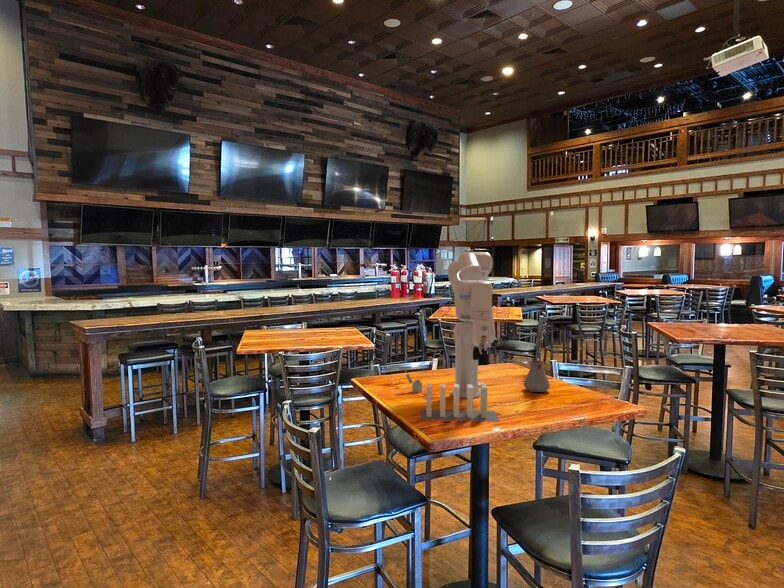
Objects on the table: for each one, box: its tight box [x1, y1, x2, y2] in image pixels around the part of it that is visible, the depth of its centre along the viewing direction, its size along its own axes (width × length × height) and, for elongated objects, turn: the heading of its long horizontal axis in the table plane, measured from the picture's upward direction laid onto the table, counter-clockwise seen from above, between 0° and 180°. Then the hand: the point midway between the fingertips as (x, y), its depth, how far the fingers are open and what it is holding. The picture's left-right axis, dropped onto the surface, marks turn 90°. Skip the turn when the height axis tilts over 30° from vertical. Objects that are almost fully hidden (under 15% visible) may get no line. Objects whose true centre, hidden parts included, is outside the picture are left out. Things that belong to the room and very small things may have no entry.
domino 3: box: [452, 383, 460, 417], centre depth 175 cm, size 2×5×11 cm, turn 176°
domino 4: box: [466, 384, 474, 418], centre depth 174 cm, size 2×5×11 cm, turn 176°
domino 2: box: [439, 383, 447, 417], centre depth 175 cm, size 2×5×11 cm, turn 176°
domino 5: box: [479, 384, 488, 418], centre depth 174 cm, size 2×5×11 cm, turn 176°
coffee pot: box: [523, 360, 551, 393], centre depth 207 cm, size 21×12×15 cm, turn 167°
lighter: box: [405, 372, 423, 393], centre depth 209 cm, size 7×2×8 cm, turn 91°
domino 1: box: [425, 383, 433, 417], centre depth 176 cm, size 2×5×11 cm, turn 176°
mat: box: [420, 408, 501, 423], centre depth 175 cm, size 28×12×1 cm, turn 86°
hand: (480, 362), depth 173 cm, fingers open, 9 cm apart
